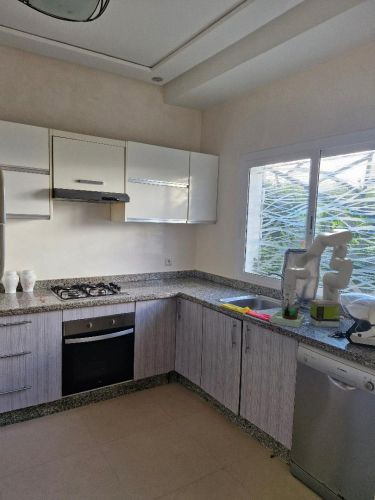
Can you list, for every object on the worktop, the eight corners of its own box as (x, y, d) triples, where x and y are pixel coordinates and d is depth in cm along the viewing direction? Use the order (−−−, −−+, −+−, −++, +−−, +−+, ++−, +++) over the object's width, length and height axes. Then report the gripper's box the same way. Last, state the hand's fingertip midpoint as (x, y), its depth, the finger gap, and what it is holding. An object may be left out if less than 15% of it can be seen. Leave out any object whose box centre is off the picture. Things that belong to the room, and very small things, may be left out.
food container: (276, 317, 224) (277, 301, 223) (281, 315, 228) (282, 300, 227) (294, 321, 215) (295, 305, 214) (299, 319, 219) (300, 304, 219)
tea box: (332, 322, 225) (334, 300, 224) (339, 327, 215) (341, 304, 214) (309, 321, 224) (310, 299, 223) (315, 326, 214) (317, 303, 213)
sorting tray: (304, 320, 226) (304, 315, 226) (298, 327, 210) (299, 322, 210) (276, 316, 235) (277, 310, 234) (269, 322, 219) (269, 316, 219)
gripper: (293, 290, 211) (290, 319, 213) (298, 285, 226) (296, 313, 228) (280, 288, 215) (278, 317, 216) (287, 284, 230) (285, 311, 232)
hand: (287, 314), depth 222 cm, fingers closed on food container, 5 cm apart
